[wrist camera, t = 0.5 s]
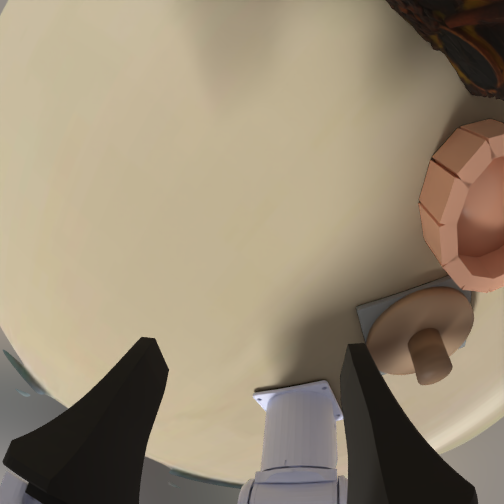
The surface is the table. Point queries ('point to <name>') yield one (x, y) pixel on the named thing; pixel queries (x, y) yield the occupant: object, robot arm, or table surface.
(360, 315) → the mat
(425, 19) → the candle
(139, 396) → the robot arm
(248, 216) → the table surface
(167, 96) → the table surface
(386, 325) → the lid
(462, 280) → the bowl
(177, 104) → the table surface
